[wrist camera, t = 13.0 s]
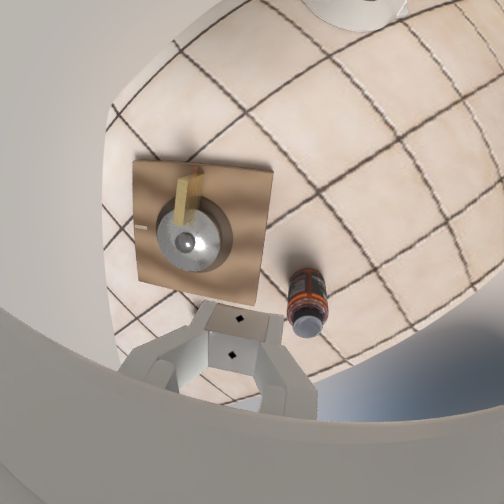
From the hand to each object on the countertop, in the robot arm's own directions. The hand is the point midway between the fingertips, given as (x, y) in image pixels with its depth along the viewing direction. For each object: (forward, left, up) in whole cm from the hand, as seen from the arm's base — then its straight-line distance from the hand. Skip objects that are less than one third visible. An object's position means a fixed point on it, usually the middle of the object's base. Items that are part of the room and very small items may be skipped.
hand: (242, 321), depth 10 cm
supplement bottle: (+16, +6, -31) cm, 36 cm away
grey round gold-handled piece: (+8, -13, -29) cm, 32 cm away
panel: (+10, -13, -31) cm, 35 cm away
